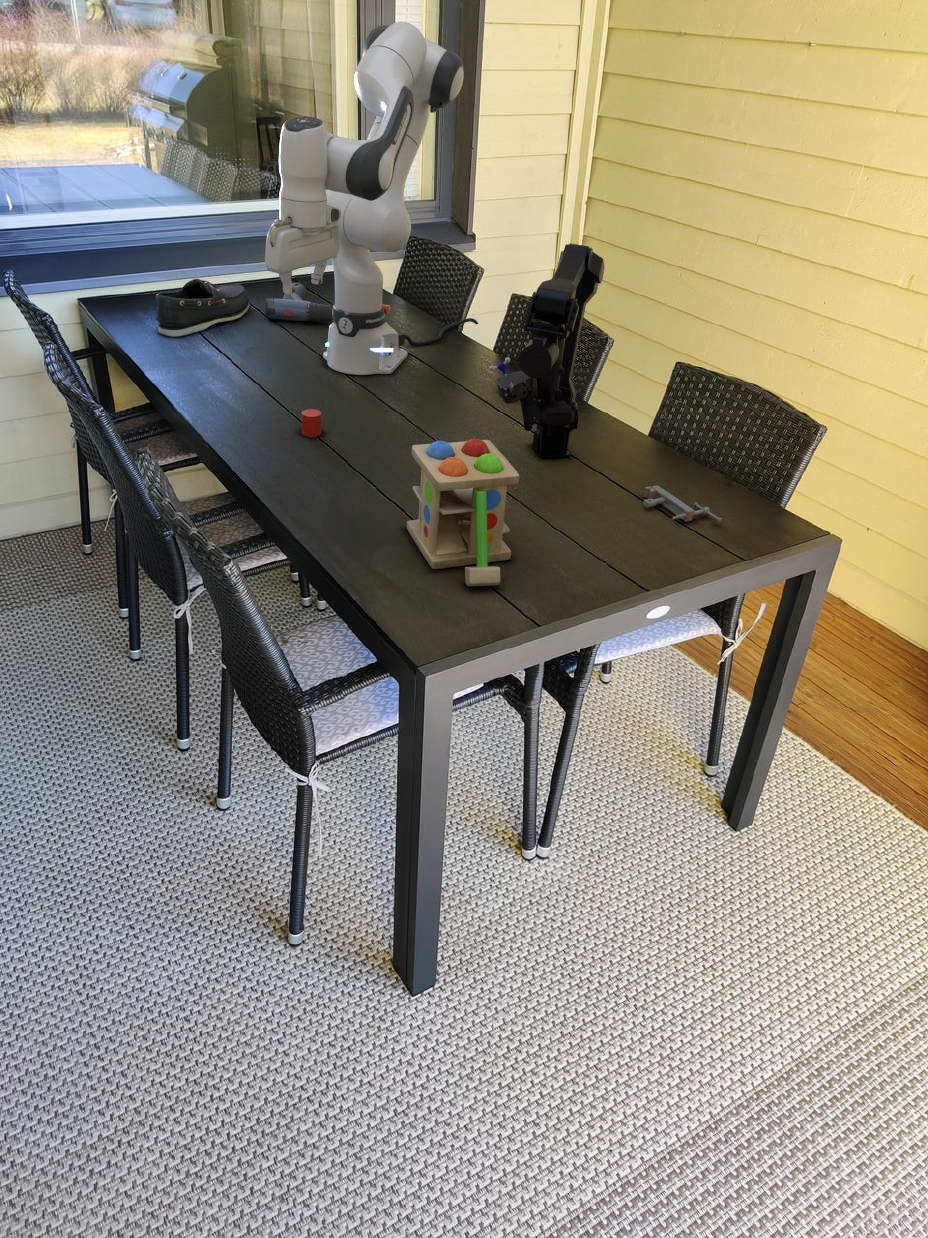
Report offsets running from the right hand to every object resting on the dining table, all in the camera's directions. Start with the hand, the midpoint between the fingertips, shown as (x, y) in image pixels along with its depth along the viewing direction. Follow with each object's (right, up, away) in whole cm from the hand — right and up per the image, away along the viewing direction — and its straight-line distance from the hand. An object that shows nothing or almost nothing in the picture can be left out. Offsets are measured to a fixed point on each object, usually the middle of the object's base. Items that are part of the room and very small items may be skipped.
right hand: (535, 440), depth 184 cm
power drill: (-57, +50, +83) cm, 112 cm away
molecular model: (-3, +19, +46) cm, 50 cm away
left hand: (-45, +31, +8) cm, 56 cm away
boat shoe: (-81, +44, +71) cm, 117 cm away
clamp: (+27, -13, +2) cm, 30 cm away
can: (-45, +5, +19) cm, 49 cm away
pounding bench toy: (-13, -23, -18) cm, 32 cm away
